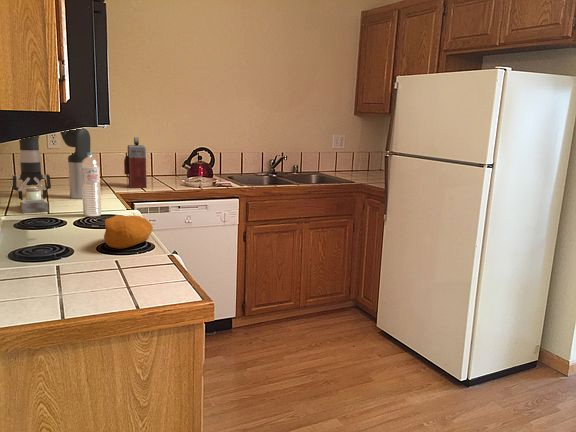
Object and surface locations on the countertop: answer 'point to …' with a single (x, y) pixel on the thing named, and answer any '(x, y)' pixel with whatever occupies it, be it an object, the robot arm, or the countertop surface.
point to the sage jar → (33, 194)
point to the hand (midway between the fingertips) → (32, 199)
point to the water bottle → (91, 186)
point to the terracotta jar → (31, 187)
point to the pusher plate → (34, 201)
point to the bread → (126, 231)
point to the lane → (34, 207)
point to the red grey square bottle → (136, 165)
